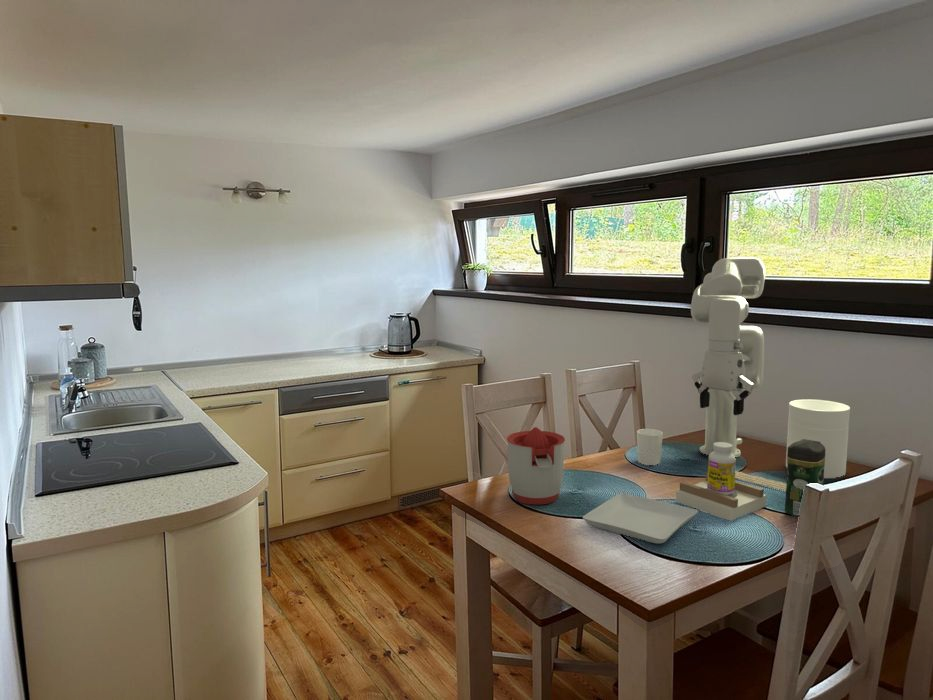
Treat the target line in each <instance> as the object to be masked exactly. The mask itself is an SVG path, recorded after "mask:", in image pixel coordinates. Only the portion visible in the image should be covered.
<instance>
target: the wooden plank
mask: <svg viewBox="0 0 933 700" xmlns="http://www.w3.org/2000/svg"><path fill="white" fill-rule="evenodd" d="M739 480H744V481H747V482H751V483H754V484H753V485H755V484H759V485H762V486H767V487H771V488H775V489H780V490H785V491H786V484H787V482H781V481H779V480H778V481H777V480H773V479H770V478H766V477H761V476H757V475H754V474H749V473H744V472H741V471H737V470H735V481H739ZM747 482H746V483H747ZM751 483H750V484H751ZM759 485H758V486H759ZM762 486H761V487H762Z"/></svg>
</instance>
